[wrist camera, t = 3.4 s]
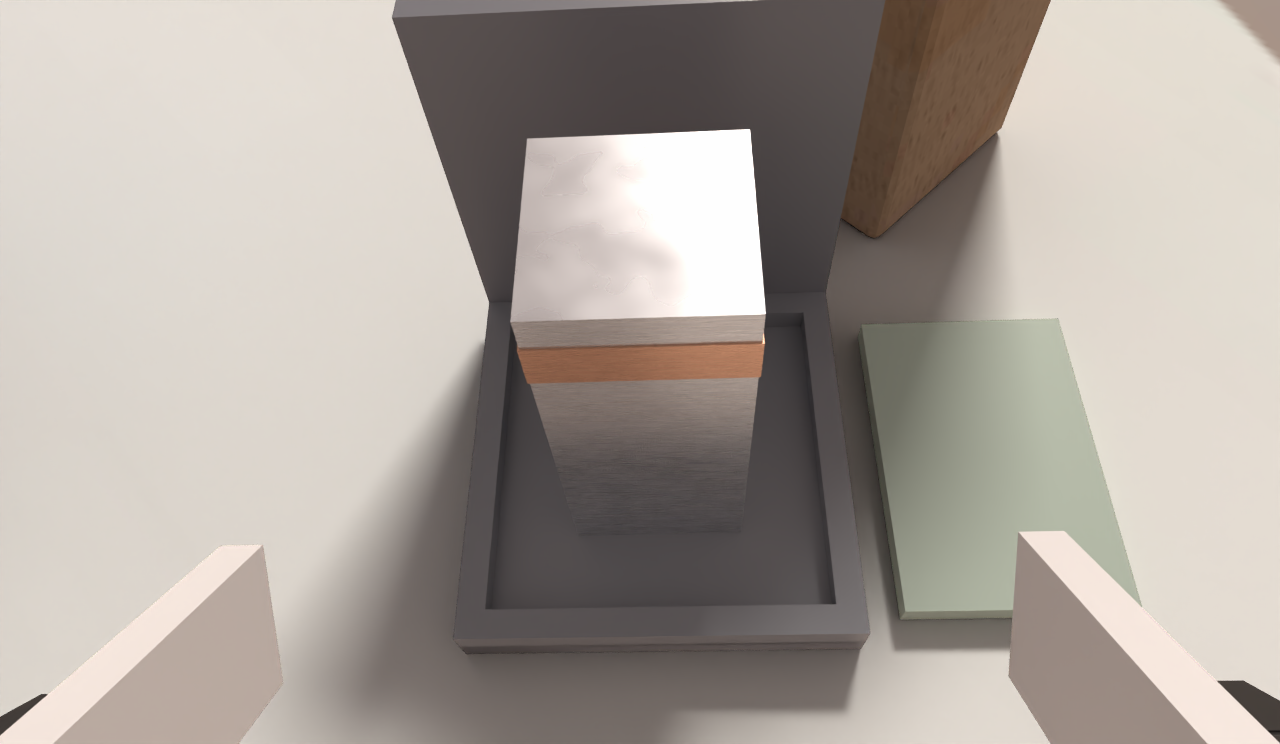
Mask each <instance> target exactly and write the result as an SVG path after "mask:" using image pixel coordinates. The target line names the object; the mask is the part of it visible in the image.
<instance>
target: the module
mask: <svg viewBox="0 0 1280 744" xmlns="http://www.w3.org/2000/svg"><path fill="white" fill-rule="evenodd" d="M765 317H766V311H765V299H764V288H763V276H762V265H761V253H760V242H759V230H758V219H757V208H756V196H755V185H754V173H753V162H752V150H751V139H750V130H728V131H703V132H678V133H653V134H629V135H604V136H579V137H555V138H530V139H527V146H526V157H525V167H524V178H523V189H522V200H521V211H520V222H519V233H518V244H517V255H516V266H515V277H514V288H513V299H512V310H511V320H510V322H511V326H512V329H513V332H514V335H515V338H516V341H517V353H518V356H519V359H520V362H521V365H522V368H523V372H524V375H525V378H526V381H527V384H530V385H531V389H532V392H533V395H534V398H535V401H536V404H537V407H538V411H539V414H540V417H541V420H542V423H543V426H544V430H545V433H546V436H547V439H548V442H549V445H550V448H551V452H552V455H553V458H554V461H555V464H556V467H557V471H558V474H559V477H560V480H561V483H562V486H563V489H564V493H565V496H566V499H567V502H568V505H569V508H570V512H571V515H572V518H573V521H574V524H575V527H576V530H577V534H578V536H580V535H632V534H684V533H737V532H741V529H742V520H743V511H744V502H745V493H746V484H747V476H748V467H749V458H750V449H751V440H752V431H753V423H754V414H755V405H756V396H757V387H758V378H759V377H761V372H762V363H763V355H764V346H765V340H764V325H765Z"/></svg>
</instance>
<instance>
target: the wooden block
mask: <svg viewBox="0 0 1280 744" xmlns="http://www.w3.org/2000/svg"><path fill="white" fill-rule="evenodd" d="M1050 1H1051V0H885V4H884V9H883V14H882V19H881V24H880V29H879V34H878V39H877V43H876V48H875V53H874V58H873V63H872V68H871V73H870V78H869V82H868V87H867V92H866V97H865V102H864V107H863V112H862V116H861V121H860V126H859V131H858V136H857V141H856V146H855V151H854V155H853V160H852V165H851V170H850V175H849V180H848V185H847V190H846V194H845V199H844V204H843V209H842V214H841V218H842V219H844V220H845V221H847V222H848V223H850V224H851V225H853V226H854V227H856V228H857V229H858V230H860V231H861V232H863V233H864V234H866V235H867V236H869V237H873V238H876V237H878V236H880V235H881V234H883V233H884V232H885V231H886V230H887V229H888V228H889V227H891V226H892V225H893V224H894V223H895V222H896V221H897V220H898V219H900V218H901V217H902V216H903V215H904V214H905V213H906V212H907V211H908V210H910V209H911V208H912V207H913V206H914V205H915V204H916V203H917V202H919V201H920V200H921V199H922V198H923V197H924V196H925V195H926V194H928V193H929V192H930V191H931V190H932V189H933V188H934V187H935V186H937V185H938V184H939V183H940V182H941V181H942V180H943V179H944V178H946V177H947V176H948V175H949V174H950V173H951V172H952V171H953V170H955V169H956V168H957V167H958V166H959V165H960V164H961V163H962V162H964V161H965V160H966V159H967V158H968V157H969V156H970V155H971V154H972V153H974V152H975V151H976V150H977V149H978V148H979V147H980V146H981V145H983V144H984V143H985V142H986V141H987V140H988V139H989V138H990V137H992V136H993V135H994V134H995V133H996V132H997V131H998V130H999V129H1001V128H1002V125H1003V122H1004V120H1005V117H1006V115H1007V112H1008V109H1009V107H1010V104H1011V102H1012V99H1013V97H1014V94H1015V91H1016V89H1017V86H1018V84H1019V81H1020V78H1021V76H1022V73H1023V71H1024V68H1025V66H1026V63H1027V60H1028V58H1029V55H1030V53H1031V50H1032V47H1033V45H1034V42H1035V40H1036V37H1037V35H1038V32H1039V29H1040V27H1041V24H1042V22H1043V19H1044V16H1045V14H1046V11H1047V9H1048V6H1049V4H1050Z"/></svg>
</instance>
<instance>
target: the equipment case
mask: <svg viewBox="0 0 1280 744" xmlns="http://www.w3.org/2000/svg"><path fill="white" fill-rule="evenodd" d="M884 4H885V0H396V2H395V7H394V11H393V16H392V19H393V22H394V25H395V28H396V31H397V34H398V37H399V39H400V42H401V45H402V48H403V51H404V54H405V57H406V60H407V63H408V66H409V69H410V72H411V75H412V78H413V80H414V83H415V86H416V89H417V92H418V95H419V98H420V101H421V104H422V107H423V110H424V113H425V116H426V119H427V121H428V124H429V127H430V130H431V133H432V136H433V139H434V142H435V145H436V148H437V151H438V154H439V157H440V160H441V162H442V165H443V168H444V171H445V174H446V177H447V180H448V183H449V186H450V189H451V192H452V195H453V198H454V201H455V203H456V206H457V209H458V212H459V215H460V218H461V221H462V224H463V227H464V230H465V233H466V236H467V239H468V242H469V244H470V247H471V250H472V253H473V256H474V259H475V262H476V265H477V268H478V271H479V274H480V277H481V280H482V283H483V285H484V288H485V291H486V294H487V297H488V300H489V310H488V319H487V328H486V338H485V347H484V356H483V366H482V375H481V384H480V393H479V403H478V412H477V421H476V431H475V440H474V449H473V458H472V468H471V477H470V486H469V496H468V505H467V514H466V523H465V533H464V542H463V551H462V561H461V570H460V579H459V588H458V598H457V607H456V616H455V626H454V635H453V640H454V641H455V642H456V643H457V644H458V645H459V646H460V648H461V649H462V650H463V651H464V652H465V653H466V654H492V653H570V652H648V651H725V650H803V649H861V648H862V646H863V645H864V643H865V641H866V640H867V638H868V636H869V635H870V628H869V620H868V612H867V605H866V597H865V589H864V582H863V574H862V566H861V559H860V551H859V544H858V536H857V528H856V521H855V513H854V505H853V498H852V490H851V482H850V475H849V467H848V459H847V452H846V444H845V437H844V429H843V421H842V414H841V406H840V398H839V391H838V383H837V375H836V368H835V360H834V353H833V345H832V337H831V330H830V322H829V314H828V307H827V299H826V287H827V282H828V277H829V272H830V268H831V263H832V258H833V253H834V248H835V243H836V238H837V233H838V229H839V224H840V219H841V214H842V209H843V204H844V199H845V194H846V190H847V185H848V180H849V175H850V170H851V165H852V160H853V155H854V151H855V146H856V141H857V136H858V131H859V126H860V121H861V116H862V112H863V107H864V102H865V97H866V92H867V87H868V82H869V78H870V73H871V68H872V63H873V58H874V53H875V48H876V43H877V39H878V34H879V29H880V24H881V19H882V14H883V9H884ZM728 130H750V139H751V150H752V162H753V173H754V185H755V196H756V208H757V219H758V230H759V242H760V253H761V265H762V276H763V288H764V299H765V311H766V317H765V325H764V340H765V346H764V355H763V363H762V372H761V377H759V378H758V387H757V396H756V405H755V414H754V423H753V431H752V440H751V449H750V458H749V467H748V476H747V484H746V493H745V502H744V511H743V520H742V529H741V532H737V533H684V534H632V535H580V536H578V534H577V530H576V527H575V524H574V521H573V518H572V515H571V512H570V508H569V505H568V502H567V499H566V496H565V493H564V489H563V486H562V483H561V480H560V477H559V474H558V471H557V467H556V464H555V461H554V458H553V455H552V452H551V448H550V445H549V442H548V439H547V436H546V433H545V430H544V426H543V423H542V420H541V417H540V414H539V411H538V407H537V404H536V401H535V398H534V395H533V392H532V389H531V385H530V384H527V381H526V378H525V375H524V372H523V368H522V365H521V362H520V359H519V356H518V353H517V341H516V338H515V335H514V332H513V329H512V326H511V322H510V320H511V310H512V299H513V288H514V277H515V266H516V255H517V244H518V233H519V222H520V211H521V200H522V189H523V178H524V167H525V157H526V146H527V139H530V138H555V137H579V136H604V135H629V134H653V133H678V132H703V131H728Z"/></svg>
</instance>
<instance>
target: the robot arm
mask: <svg viewBox="0 0 1280 744" xmlns="http://www.w3.org/2000/svg"><path fill="white" fill-rule="evenodd" d="M1009 678H1010V679H1011V681H1012V683H1013V684H1014V686H1015V687H1016V689H1017V691H1018V692H1019V694H1020V695H1021V697H1022V698H1023V700H1024V702H1025V703H1026V705H1027V706H1028V708H1029V710H1030V711H1031V713H1032V714H1033V716H1034V718H1035V719H1036V721H1037V722H1038V724H1039V726H1040V727H1041V729H1042V730H1043V732H1044V734H1045V735H1046V737H1047V738H1048V740H1049V741H1050V743H1051V744H1280V701H1279V700H1277V699H1276V698H1274V697H1272V696H1270V695H1268V694H1267V693H1265V692H1263V691H1261V690H1259V689H1258V688H1256V687H1254V686H1252V685H1250V684H1249V683H1247V682H1245V681H1216V680H1215V679H1214V678H1213V677H1212V676H1211V675H1210V674H1209V673H1208V672H1207V671H1206V670H1205V669H1204V668H1203V667H1202V666H1201V665H1200V664H1199V663H1198V662H1197V661H1196V660H1195V659H1194V658H1193V657H1192V656H1191V655H1190V654H1189V653H1188V652H1187V651H1186V650H1185V649H1184V648H1183V647H1182V646H1181V645H1180V644H1179V643H1178V642H1177V641H1176V640H1175V639H1174V638H1173V637H1172V636H1171V635H1169V634H1168V633H1167V632H1166V631H1165V630H1164V629H1163V628H1162V627H1161V626H1160V625H1159V624H1158V623H1157V622H1156V621H1155V620H1154V619H1153V618H1152V617H1151V616H1150V615H1149V614H1148V613H1147V612H1146V611H1145V610H1144V609H1143V608H1142V607H1141V606H1140V605H1139V604H1138V603H1137V602H1136V601H1135V600H1134V599H1133V598H1132V597H1131V596H1130V595H1129V594H1128V593H1127V592H1126V591H1125V590H1124V589H1123V588H1122V587H1121V586H1120V585H1119V584H1118V583H1117V582H1116V581H1115V580H1114V579H1113V578H1112V577H1111V576H1110V575H1109V574H1108V573H1107V572H1106V571H1104V570H1103V569H1102V568H1101V567H1100V566H1099V565H1098V564H1097V563H1096V562H1095V561H1094V560H1093V559H1092V558H1091V557H1090V556H1089V555H1088V554H1087V553H1086V552H1085V551H1084V550H1083V549H1082V548H1081V547H1080V546H1079V545H1078V544H1077V543H1076V542H1075V541H1074V540H1073V539H1072V538H1071V537H1070V536H1069V535H1068V534H1067V533H1066V532H1065V531H1031V532H1018V543H1017V557H1016V572H1015V587H1014V602H1013V617H1012V631H1011V646H1010V661H1009ZM282 684H283V677H282V670H281V663H280V657H279V650H278V643H277V637H276V630H275V623H274V616H273V610H272V603H271V596H270V589H269V583H268V576H267V569H266V562H265V556H264V549H263V545H224V546H220V547H218V548H217V549H216V550H215V551H214V552H213V553H211V554H210V555H209V556H208V557H207V558H206V559H205V560H203V561H202V562H201V563H200V564H199V565H198V566H196V567H195V568H194V569H193V570H192V571H191V572H189V573H188V574H187V575H186V576H185V577H184V578H182V579H181V580H180V581H179V582H178V583H177V584H176V585H174V586H173V587H172V588H171V589H170V590H169V591H167V592H166V593H165V594H164V595H163V596H162V597H160V598H159V599H158V600H157V601H156V602H155V603H153V604H152V605H151V606H150V607H149V608H148V609H147V610H145V611H144V612H143V613H142V614H141V615H140V616H138V617H137V618H136V619H135V620H134V621H133V622H131V623H130V624H129V625H128V626H127V627H126V628H124V629H123V630H122V631H121V632H120V633H119V634H118V635H116V636H115V637H114V638H113V639H112V640H111V641H109V642H108V643H107V644H106V645H105V646H104V647H102V648H101V649H100V650H99V651H98V652H97V653H95V654H94V655H93V656H92V657H91V658H90V659H89V660H87V661H86V662H85V663H84V664H83V665H82V666H80V667H79V668H78V669H77V670H76V671H75V672H73V673H72V674H71V675H70V676H69V677H68V678H66V679H65V680H64V681H63V682H62V683H61V684H60V685H58V686H57V687H56V688H55V689H54V690H53V691H51V692H50V693H49V694H41V695H39V696H37V697H35V698H34V699H32V700H30V701H28V702H26V703H24V704H23V705H21V706H19V707H17V708H15V709H14V710H12V711H10V712H8V713H6V714H4V715H3V716H1V717H0V744H239V742H240V741H241V740H242V738H243V737H244V736H245V734H246V733H247V731H248V730H249V729H250V727H251V726H252V725H253V723H254V722H255V721H256V719H257V718H258V717H259V715H260V714H261V713H262V711H263V710H264V709H265V707H266V706H267V705H268V703H269V702H270V700H271V699H272V698H273V696H274V695H275V694H276V692H277V691H278V690H279V688H280V687H281V686H282Z"/></svg>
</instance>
